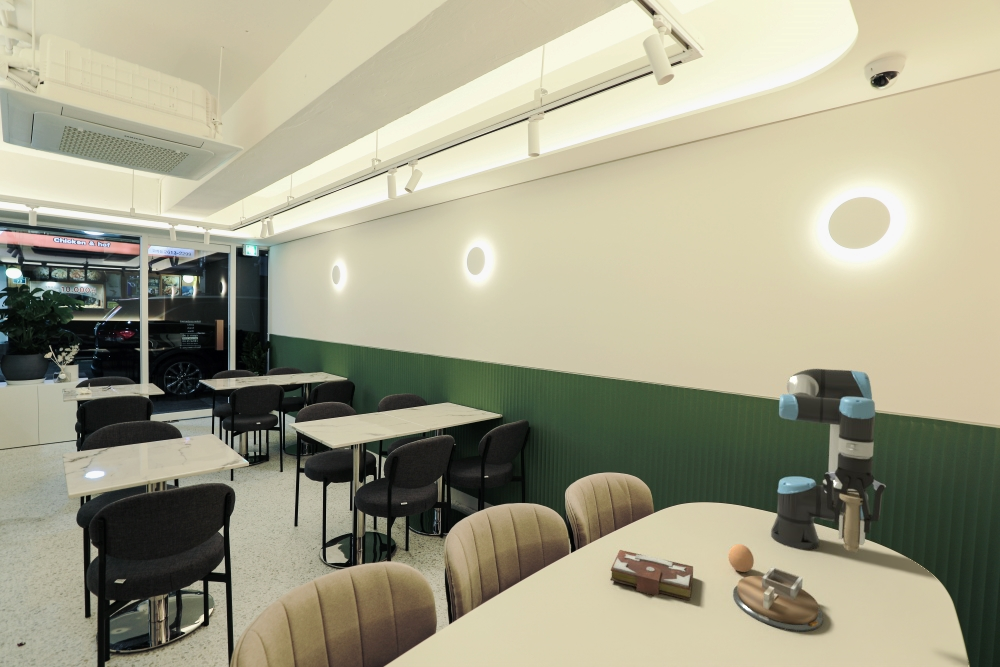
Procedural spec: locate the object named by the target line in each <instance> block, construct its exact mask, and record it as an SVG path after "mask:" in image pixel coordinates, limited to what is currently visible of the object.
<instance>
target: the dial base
mask: <svg viewBox="0 0 1000 667" xmlns="http://www.w3.org/2000/svg"><path fill="white" fill-rule="evenodd" d="M732 593H733V596H732V597H733V601H734V603H735V604H736V605H737V607H738V608H739V609H740V610H742V611H743V612H744V613H745V614H746V615H748V616H750V617H751V618H753V619H755V620H757V621H759V622H760V623H763V624H765V625H767V626H770V627H773V628H776V629H780V630H785V631H789V632H790V631H791V632H799V633H800V632H801V633H802V632H805V633H806V632H811V631H815V630H818V629H819V628H820V627H821V626H822V625H823V617H824V616H823V615H824V614H823V613H822V611H821V609H820V608H819V609H818V618H817V619H816V620H815V621H814V622H812V623H808V624H789V623H784V622H779V621H776V620H773V619H770V618H768V617H765V616H763V615H761V614H758V613H756V612H755V611H753V610H751V609H750V608H748V607H747V606H746V605H745V604H744V603H743V602H742V601H741V600H740V599H739V597H738V594H737V585H736V586H735V587H734V589H733V592H732Z"/></svg>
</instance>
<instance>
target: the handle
mask: <svg viewBox="0 0 1000 667" xmlns="http://www.w3.org/2000/svg"><path fill="white" fill-rule="evenodd" d="M839 497H840V499H841V500H843V501H844V502H845V515H844V523H843V539H842V540H843V549H845V550H847V551H848V552H853V553H858V551H859V549H860V521H861V505H862V503H861V500H862V501H863V499H862V498H860V496H859V493H854V492H847V493H846V495H844V494H840V495H839ZM867 499H868V500H869V496H868V497H867Z"/></svg>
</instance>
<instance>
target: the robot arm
mask: <svg viewBox="0 0 1000 667" xmlns="http://www.w3.org/2000/svg"><path fill="white" fill-rule="evenodd" d="M786 390H787V392H788V394H786V393H785V394H781V395H779V403H778V404H779V408H778V409H779V411H778V414H779V417H780V418H781V419H785V420H790V421H801V422H810V423H819V424H825V425H826V424H828V425H829V426H830V427H829V447H828V452H829V453H828V455H829V456H828V471H827V472H825V473H824V475H823V476H824V479H823V480H822V485H820V484H817V482H816V481H815V479H813V478H808V477H806V476H785V477H783V478H781V479H780V480H779V481H778V488H777V514H776V519H775V520H774V523H773V525H772V527H771V532H770V536H771V538H772V539H773V540H774V541H776V542H777V543H779V544H781V545H783V546H786V547H787V548H788V547H789V548H792V549H796V550H804V551H805V550H807V551H810V550H811V551H812V550H816V549H818V548H819V546H820V539H819V536H818V532H817V530H816V526H815V518H816V519H821V520H825V521H830V522H831V521H832V522H834V525H836V526H838V539H840V540H843V523H844V515H845V502H844V501H843V500H841V499H840V497H839V495H840V494H844V495H846V493H847V492H854V493H859V496H860V498H862V499H863V501H862V500H861V503H862V505H861V521H860V544H859V546H864V544H865V542H866V534H869V533H870V532H871V526H872V525H871V524H872V523H871V522H878V521H879V520H880V517H881V509H882V500H883V499H882V498H883V492H884V490H885V489H886V488H887V485H886V483H884V482H882V483H881V482H879V481H878V480H875V476H874V475H873V462H874V459H873V458H872V457H873V456H874V445H875V444H874V442H875V441H874V434H875V433H874V431H875V417H876V406H875V404H876V402H875V401H874V400H873V395H872V394H873V393H872V386H871V381H870V377H869V376H868V374H867V373H866V372H863V371H858V370H843V369H828V368H827V369H825V368H810V369H809V368H808V369H805V370H802V371H799V372H797V373H795V374H793V375H791V376H790V377H789V379H788V381H787V383H786ZM872 485H873V489H874V490H875V493H874V502H873V512H872V514H871V510H870V504H869V495H868V493H867V488H868V487H870V486H872ZM867 497H868V499H867Z"/></svg>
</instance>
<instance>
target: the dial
mask: <svg viewBox="0 0 1000 667" xmlns="http://www.w3.org/2000/svg"><path fill="white" fill-rule="evenodd" d="M736 586H737V594H738V597H739V599H740V600H741V601H742V602H743V603H744V604H745V605H746V606H747V607H748V608H750V609H751V610H753V611H755V612H756V613H758V614H761V615H763V616H765V617H768V618H770V619H773V620H776V621H779V622H784V623H789V624H808V623H812V622H814V621H815V620H816V619H817V618H818V609H820V607H819V603H818V601H817V600H816V599H815V597H814V596H812V595H811V594H810V593H809V592H807V591H806V590H805V589H802V588H803V577H802V576H799V575H796V574H793V573H790V572H788V571H785V570H782V569H779V568H775V567H773V566H772V567H770V568H769V569H768V571H766V573H765V574H764V575H750V576H746V577H743V578H741V579H740V580H738V582H737V585H736Z"/></svg>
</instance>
